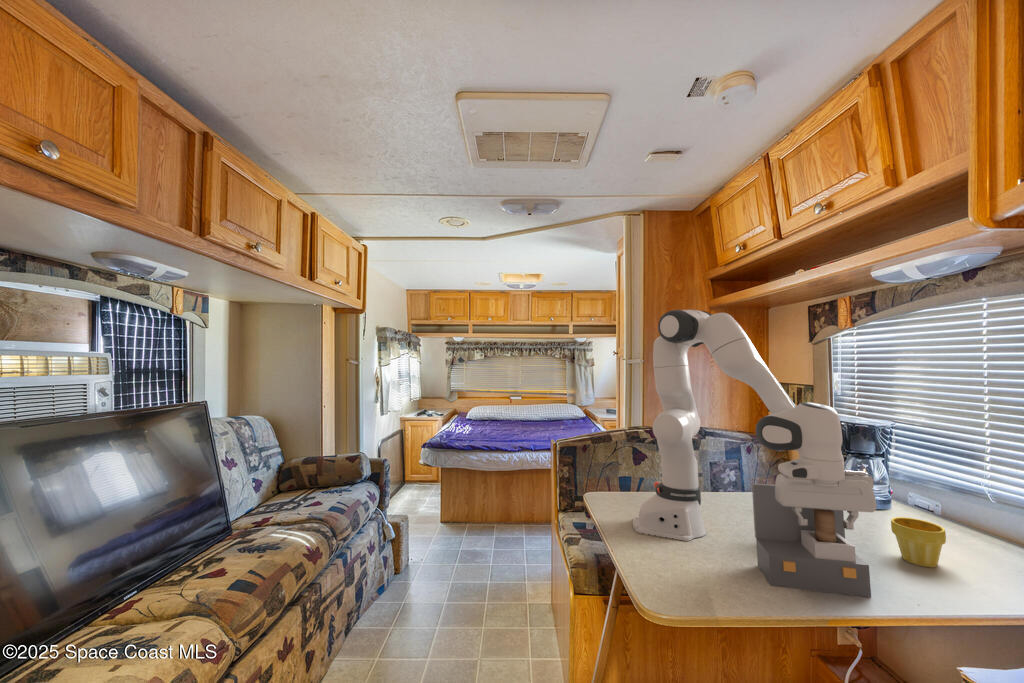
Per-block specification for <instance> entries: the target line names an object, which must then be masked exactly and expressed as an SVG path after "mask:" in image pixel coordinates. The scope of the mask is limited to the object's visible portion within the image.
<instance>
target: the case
mask: <svg viewBox="0 0 1024 683" xmlns="http://www.w3.org/2000/svg"><path fill="white" fill-rule="evenodd" d="M751 490H752V509H753V524H754V525H753V526H754V528H753V529H754V538H756V540H755V541H756V542H755V543H756V556H757V567H758V568H759V569H760V571H761V573H762V575H763V576H764V577H765V579H766V580H767V581H768V582H767V583H769V585H770V587H771V586H773V587H779V588H791V589H796V590H797V589H798V590H807V591H813V592H815V591H816V592H823V593H824V592H825V593H831V594H841V595H849V596H857V597H858V596H859V597H865V598H866V597H868V598H871V597H872V588H871V577H870V565H869V564H868V563H867V562H866V561H864V559H862V558H861V557H860V556H858V555H857V554H856V547H855V545H854V544H852V543H851V542H849V540H847V539H846V529H845V528H844V527H843V521H842V520H845V519H844V518H845V516H844V510H832V511H834V517H835V529H836V542H837V543H827V542H817V541H816V535H815V521H814V508H802V512H800V511H799V512H800V514H801V515H802V517H805V518H807V519H808V522H807V523H808V526H801V525H799V523H798V516H797V515H796V514H795V512H794V511H793V509H792V507H786V506H782V505H781V504H780V503H778V501H777V500H776V499H775V484H772V483H771V484H769V483H767V484H766V483H755V482H754V483H751Z"/></svg>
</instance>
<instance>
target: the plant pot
mask: <svg viewBox="0 0 1024 683" xmlns="http://www.w3.org/2000/svg"><path fill="white" fill-rule="evenodd" d="M890 526H891V532H892V533H893V534H894V535H895V539H896V541H897V545H898V547H899V551H900V554H901V557H902V559H903V560H905V562H907V563H911V564H912V565H915V566H920V567H925V568H937V566H938V564H939V559H940V556H941V551H942V547H943V546H944V545H945V544H946V543H947V541H946V540H947V536H946V530H945V528H944V527H943V526H941V525H940V524H936V523H933V522H931V521H927V520H923V519H918V518H913V517H912V518H911V517H903V516H902V517H901V516H897V517H896V516H895V517H893V518H892V519H890Z"/></svg>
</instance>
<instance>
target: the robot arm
mask: <svg viewBox="0 0 1024 683" xmlns="http://www.w3.org/2000/svg"><path fill="white" fill-rule="evenodd" d="M657 329H658V330H657V331H658V333H659V335H660V336H658V337H656V339H654V341H653V349H652V361H653V362H652V364H653V373H654V382H655V383H654V385H655V391H656V393H657V395H658V397H659V400H660V403H661V406H662V412H660V413H659V414H658V415H657V416H656V418H655V419H654V421H653V422H652V433H653V435H654V437H655V438H656V442H657V447H658V451H659V456H660V462H661V463H660V464H661V468H660V469H661V482H659V481H657V480H656V481H654V483H653V487H654V488H655V495H653V496H651V497H650V498H648V499H647V500H645V501H643V503H642V504H641V506H640V508H639V513H638V514H639V515H636V516H634V517H633V519H632V527H633V529H634V531H636V532H637V533H638V532H639V534H642V533H644V534H643V535H648V534H650V535H649V536H654V535H656V536H655V537H660V536H661V538H666V537H667V538H666V539H672V538H673V540H677V541H678V540H679V541H686V542H689V541H691V540H693V539H697V538H701V537H703V536H705V535H707V530H706V527H705V523H704V520H703V514H702V510H701V502H702V494H701V492H702V490H701V486H700V485H699V469H698V468H699V467H698V466H699V465H698V460H697V457H696V454H695V450H694V445H693V438H694V437H695V436H696V435H697V434H698V433H699V431H700V428H701V423H702V422H701V419H700V416H699V413H698V408H697V405H696V400H695V398H694V397H695V396H694V394H693V390H692V381H691V374H690V365H689V357H688V352H689V349H690V347H693V348H696V347H698V346H701V345H702V344H704V345H705V346H706V347H707V349H708V351H709V353H710V355H711V358H712V359H713V361H714V362H715V364H716V366H718V368H719V369H720V370H721V371H722V372H723V374H725V375H726V376H728V377H730V378H733V379H735V380H738V381H740V382H741V383H742V382H743V383H745V385H748V386H749V387H751V388H752V389H753V390H754V391H755V392H756V393H757V394H758V397H759V398H760V399H761V401H762V402H763V403H764V405H765V407H766V409H768V411H769V412H770V414H769V415H766V416H763V417H761V418H760V419H759V420H758V421H757V423H756V425H755V435H756V438H757V440H758V441H759V443H760V444H761V445H762V446H763V447H764V448H766V449H768V450H770V451H775V452H787V451H797V452H798V457H799V458H797V459H793V460H790V461H785V462H780V463H779V464H777V469H778V471H779V472H780V473H779V474H778V475H777V476H776V478H775V483H774V485H775V499H776V500H777V501H778V503H780V504H781V505H782V506H786V507H792V509H793V511H794V512H795V514H796V515H797V516H798V523H799V525H801V526H808V523H807V522H808V519H807V518H805V517H802V515H801V514H800V512H802V508H815V509H829V510H843V512H844V511H845V512H847V514H848V516H847V518H846V519H844V520H842V521H843V527H844V528H845V530H849V531H850V530H851V531H853V530H854V529H855V528H854V527H855V525H854V523H855V522H856V521H857V519H858V518H859V515H860V514H859V512H860V513H874V512H875V511H876V510H877V508H878V507H877V500H876V496H875V492H874V478H873V477H872V476H871V475H870V474H869V473H867V472H865V471H862V470H858V471H854V470H847V469H845V459H844V455H843V453H842V444H843V433H842V432H843V431H842V425H841V419H840V416H839V414H838V412H837V409H834V408H833V407H832V406H830V405H826V404H822V403H817V402H810V401H809V402H808V401H806V402H800V403H799V404H798V405H796V404H795V403H794V402H793V400H792V399H791V397H790V396H789V395H788V393H787V392H786V390H785V389H784V388H783V386H782V385H781V383H780V382H779V381H778V379H777V378H776V377H775V375H774V374H773V373H772V372H771V370H770V369H769V367H768V365H767V364H766V363H765V361H764V359H762V357H761V355H760V354H759V352H758V351H757V349H756V347H755V345H754V343H752V341H751V339H750V338H749V336H748V335H747V333H746V332H745V330H744V329H743V327H742V326H741V325H740V324H739V322H738V321H737V320H735V318H734V317H733V316H732V315H731V314H729V313H727V312H717V313H713V314H712V313H710V312H708V311H706V310H697V309H689V308H688V309H673V310H669V311H666V312H665V313H663V314H662V316H660V318H659V320H658V325H657ZM799 511H800V512H799Z"/></svg>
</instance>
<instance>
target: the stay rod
mask: <svg viewBox="0 0 1024 683" xmlns="http://www.w3.org/2000/svg"><path fill="white" fill-rule="evenodd" d="M814 521H815V535H816V541H817V542H827V543H837V542H836V529H835V517H834V511H832V510H829V509H815V508H814Z"/></svg>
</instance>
